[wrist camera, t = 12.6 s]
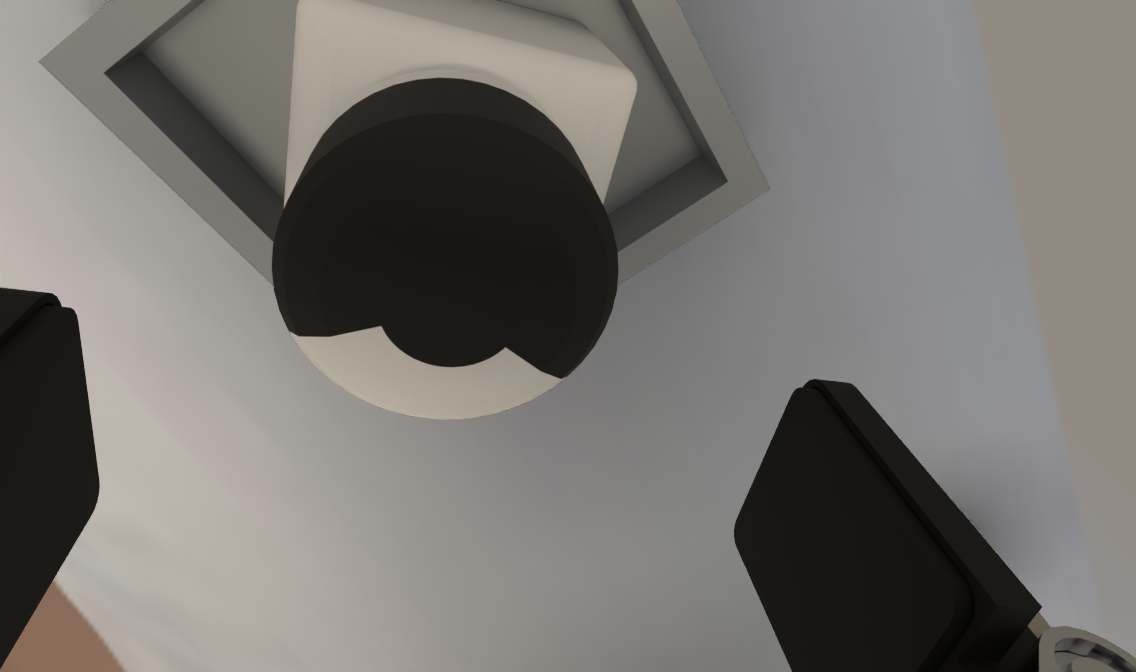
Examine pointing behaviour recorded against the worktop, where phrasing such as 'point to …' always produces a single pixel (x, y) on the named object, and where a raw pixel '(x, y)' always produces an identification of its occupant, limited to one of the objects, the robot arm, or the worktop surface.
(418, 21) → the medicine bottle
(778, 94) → the worktop surface
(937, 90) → the worktop surface
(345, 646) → the worktop surface
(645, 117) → the tray
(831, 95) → the worktop surface
